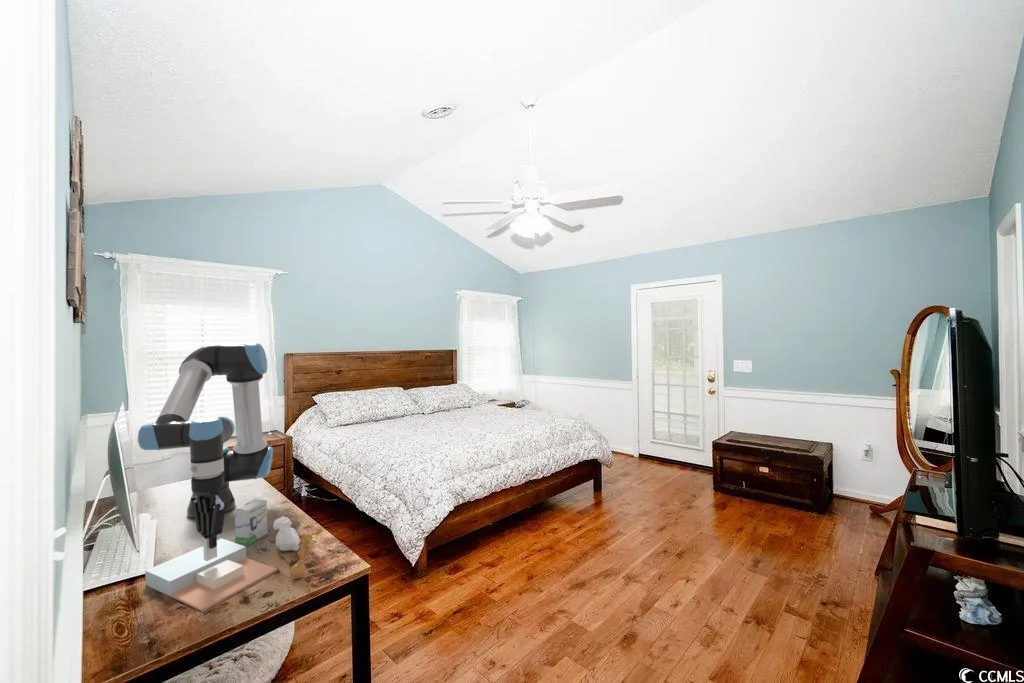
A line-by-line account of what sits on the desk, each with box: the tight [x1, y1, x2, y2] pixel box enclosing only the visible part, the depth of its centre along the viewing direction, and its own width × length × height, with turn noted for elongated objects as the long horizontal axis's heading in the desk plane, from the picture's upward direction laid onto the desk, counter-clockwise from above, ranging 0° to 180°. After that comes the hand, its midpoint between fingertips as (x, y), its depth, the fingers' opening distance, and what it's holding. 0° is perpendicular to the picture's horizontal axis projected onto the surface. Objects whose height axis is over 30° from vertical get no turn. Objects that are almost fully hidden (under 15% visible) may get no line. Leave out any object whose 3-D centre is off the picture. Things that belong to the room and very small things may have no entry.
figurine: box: [289, 533, 313, 580], centre depth 123 cm, size 8×6×12 cm
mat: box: [170, 557, 278, 612], centre depth 121 cm, size 20×14×1 cm
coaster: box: [196, 559, 244, 590], centre depth 122 cm, size 8×8×2 cm
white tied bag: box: [273, 516, 301, 552], centre depth 139 cm, size 12×8×11 cm
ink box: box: [234, 498, 268, 547], centre depth 145 cm, size 9×5×12 cm, turn 168°
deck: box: [144, 537, 247, 598], centre depth 126 cm, size 20×12×4 cm, turn 154°
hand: (210, 558), depth 123 cm, fingers closed
